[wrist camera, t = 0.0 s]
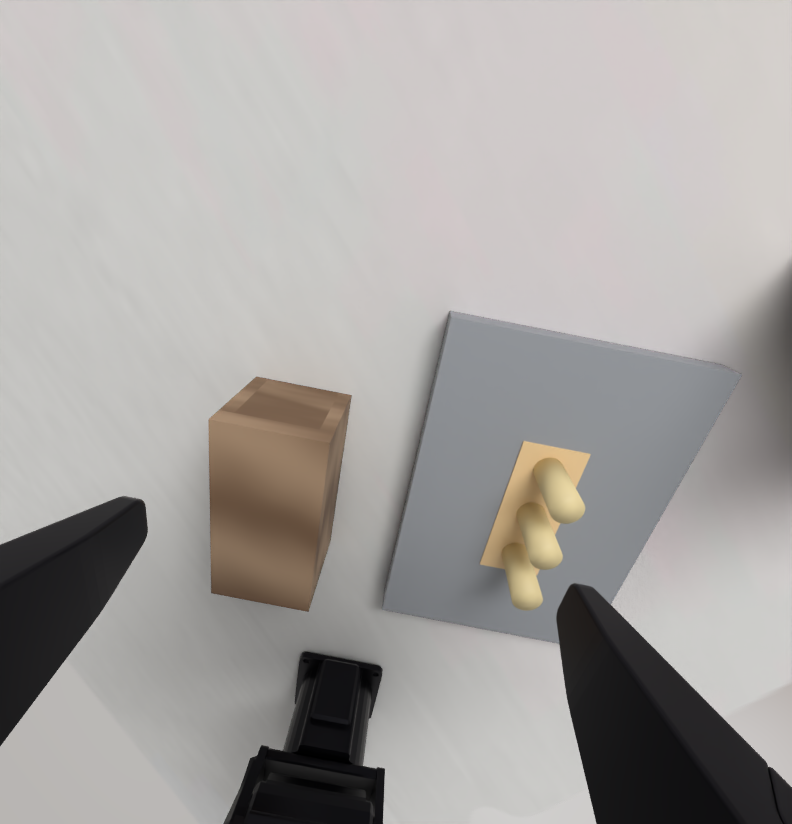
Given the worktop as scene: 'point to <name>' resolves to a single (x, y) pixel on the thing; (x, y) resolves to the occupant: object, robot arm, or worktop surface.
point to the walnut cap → (274, 490)
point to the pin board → (555, 411)
